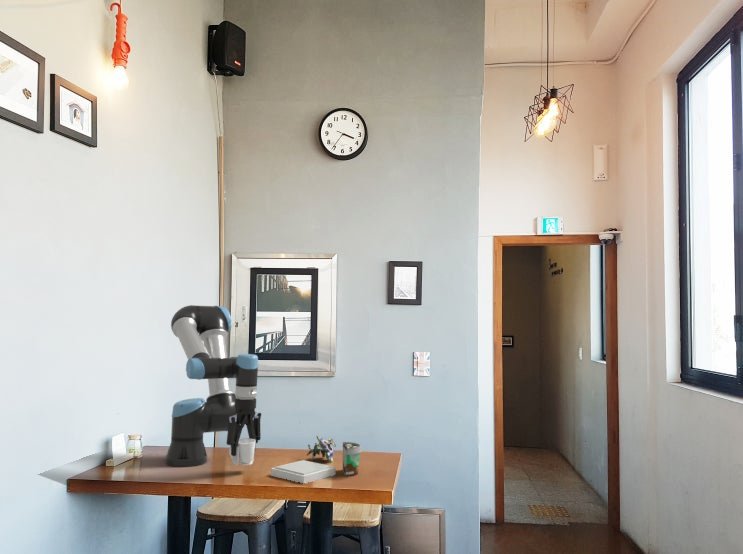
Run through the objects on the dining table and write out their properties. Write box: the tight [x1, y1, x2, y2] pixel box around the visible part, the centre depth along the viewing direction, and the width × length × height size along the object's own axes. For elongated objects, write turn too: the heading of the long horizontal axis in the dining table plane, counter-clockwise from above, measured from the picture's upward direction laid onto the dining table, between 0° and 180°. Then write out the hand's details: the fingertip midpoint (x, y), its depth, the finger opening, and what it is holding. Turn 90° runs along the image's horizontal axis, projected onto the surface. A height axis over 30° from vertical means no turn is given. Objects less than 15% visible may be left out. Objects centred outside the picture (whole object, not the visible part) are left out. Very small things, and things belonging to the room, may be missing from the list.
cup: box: [228, 437, 257, 466], centre depth 214 cm, size 7×10×8 cm
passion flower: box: [306, 435, 337, 463], centre depth 234 cm, size 11×11×12 cm
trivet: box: [270, 459, 336, 485], centre depth 212 cm, size 16×16×3 cm
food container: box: [342, 441, 363, 477], centre depth 216 cm, size 12×6×10 cm, turn 9°
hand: (242, 462), depth 214 cm, fingers closed on cup, 6 cm apart
